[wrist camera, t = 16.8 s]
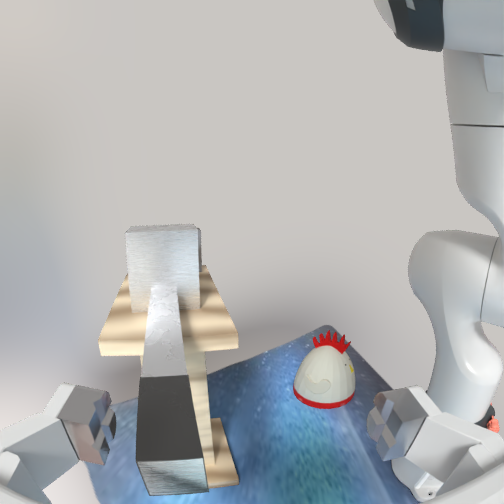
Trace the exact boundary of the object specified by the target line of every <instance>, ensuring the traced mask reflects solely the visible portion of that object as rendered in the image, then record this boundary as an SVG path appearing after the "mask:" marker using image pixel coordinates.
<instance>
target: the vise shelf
mask: <svg viewBox="0 0 504 504" xmlns="http://www.w3.org/2000/svg"><path fill="white" fill-rule="evenodd" d="M197 229H198V260H199V289H200V309H193V310H179V314H180V322H181V331H182V339H183V346H184V354H185V361H186V368H187V374H188V375H189V381H190V387H191V393H192V399H193V405H194V410H195V416H196V421H197V426H198V432H199V437H200V442H201V447H202V451H203V456H204V462H205V469H206V475H207V481H208V488H209V489H210V488H218V487H226V486H233V485H239V478H238V475H237V472H236V469H235V466H234V463H233V459H232V456H231V453H230V450H229V446H228V443H227V440H226V436H225V433H224V429H223V426H222V422H221V419H220V418H212V419H210V411H209V400H208V387H207V374H206V361H205V351H215V350H225V349H235V348H238V332H237V330H236V328H235V326H234V324H233V322H232V320H231V318H230V315H229V313H228V311H227V309H226V307H225V305H224V303H223V301H222V299H221V297H220V295H219V293H218V291H217V288H216V286H215V284H214V282H213V280H212V278H211V276H210V274H209V272H208V269H207V267H206V265H202V264H201V263H202V260H201V230H200V229H199V228H197ZM147 318H148V312H135V313H132V308H131V300H130V291H129V281H128V273H127V275H126V277H125V280H124V282H123V284H122V286H121V288H120V291H119V293H118V295H117V297H116V299H115V302H114V304H113V306H112V308H111V311H110V313H109V315H108V318H107V320H106V322H105V325H104V327H103V330H102V332H101V334H100V337H99V339H98V343H99V348H100V352H101V356H125V355H127V356H128V355H140V359H141V365H142V363H143V353H144V343H145V334H146V326H147Z"/></svg>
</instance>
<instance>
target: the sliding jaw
mask: <svg viewBox="0 0 504 504" xmlns="http://www.w3.org/2000/svg"><path fill="white" fill-rule="evenodd" d="M125 242H126V257H127V270H128V281H129V291H130V300H131V308H132V313H135V312H148V318H147V326H146V334H145V343H144V353H143V363H142V374H141V375H142V376H141V377H140V385H139V398H138V413H137V434H136V463H137V466H138V469H139V471H140V474H141V476H142V479H143V481H144V484H145V486H146V489H147V491H148V493H149V496H157V495H180V494H193V493H204V492H209V488H208V481H207V475H206V469H205V462H204V456H203V451H202V447H201V442H200V437H199V432H198V426H197V421H196V416H195V410H194V405H193V399H192V393H191V387H190V381H189V375H188V374H187V368H186V361H185V354H184V346H183V339H182V331H181V322H180V314H179V310H193V309H200V289H199V260H198V229H197V228H196V226H195V225H194V224H181V225H180V224H179V225H153V226H132V227H130V228H129V229H128V230H127V231H126V233H125Z"/></svg>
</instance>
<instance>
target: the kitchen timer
mask: <svg viewBox="0 0 504 504" xmlns="http://www.w3.org/2000/svg"><path fill="white" fill-rule="evenodd" d="M319 337H320V343H319V342H318V341H317V339H316V337H314V338H313V342H314V345H315V348H314V349H313V350H312V351H311V352H310V353H309V354H308V355H307V356H306V357H305V358H304V360H303V361H302V363H301V365H300V367H299V369H298V371H297V374H296V377H295V380H294V386H293V390H294V394H295V396H296V397H297V399H298V400H300V401H301V402H302V403H304V404H306V405H308V406H311V407H315V408H320V409H331V408H337V407H340V406H343V405H345V404H347V403H348V402H349V401H350V400H351V399H352V397H353V396H354V392H355V373H354V368H353V364H352V362H351V360H350V358H349V356H348V354H347V353H346V352H345V350H346V349H347V347H348V346H349V345H350V343H351V342H349V343H348V344H344V341H345V335H343V337H342V338H341V340H340V342H338V341H337V333H336V332H335V333H334V335H333V339H332V341H331V336H330V330H329V331H328V332H327V334H326V338H324V336H323V334H322V333H321V334H320V335H319Z"/></svg>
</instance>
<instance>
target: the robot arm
mask: <svg viewBox="0 0 504 504" xmlns="http://www.w3.org/2000/svg"><path fill="white" fill-rule="evenodd" d="M374 2H375V5H376V7H377V9H378V11H379V13H380V15H381V16H382V18H383V19H384V21H385V22H386V23H387V25H388V26H389V27H390V28H391V29H392V30H393V32H394V34H395V36H396V37H397V38H398V39H399V40H400V41H401V42H403V43H404V44H405V45H407V46H408V47H412V48H416V49H422V50H428V51H436V52H441V51H442V49H443V58H444V73H445V85H446V95H447V103H448V111H449V118H450V123H453V124H451V132H452V140H453V149H454V158H455V169H456V181H457V185H458V187H459V189H460V191H461V193H462V195H463V196H464V198H465V200H466V201H467V202H468V203H469V204H470V205H471V206H472V207H473V208H475V209H476V210H477V211H479V212H480V213H482V214H483V215H484V216H485V217H487V218H488V219H489V220H490V221H491V223H492V224H493V225H494V227H495V229H496V230H497V232H498V234H499V237H494V236H488V235H483V234H477V233H472V232H466V231H459V230H446V231H434V232H427V233H426V234H425V235H423V236H422V237H421V238H420V239H419V241H418V242H417V243H416V245H415V246H414V248H413V250H412V253H411V256H410V259H409V265H408V276H409V281H410V285H411V288H412V290H413V292H414V294H415V295H416V296H417V297H418V299H419V300H420V301H421V303H422V304H423V306H424V307H425V309H426V311H427V313H428V315H429V317H430V320H431V323H432V326H433V329H434V334H435V339H436V358H435V364H434V369H433V373H432V377H431V381H430V384H429V387H428V390H427V391H426V392H425V391H423V389H422V388H421V387H420V386H418V385H415V386H410V387H405V388H402V389H396V390H390V391H384V392H378V393H377V395H376V396H375V398H374V401H373V403H374V405H375V407H374V408H373V409H372V410H371V411H370V412H369V415H368V418H367V430H368V434H369V436H370V438H371V439H373V440H375V441H376V442H377V444H376V447H375V448H376V449H377V451H378V453H379V455H380V457H381V459H382V461H387V460H391V463H392V469H393V471H394V473H395V475H396V477H397V478H398V479H399V480H400V481H401V482H402V483H403V484H405V485H406V486H407V487H408V488H409V489H410V490H411V492H412V494H413V495H414V497H415V498H416V499H417V500H418V501H420V502H422V503H419V504H504V439H503V438H502V437H501V436H500V435H499V434H498V431H499V425H498V420H497V419H494V416H495V411H494V408H493V407H492V403H491V401H492V399H493V397H494V395H495V392H496V390H497V388H498V385H499V382H500V380H501V378H502V374H503V363H502V359H501V356H500V354H499V352H498V350H497V349H496V347H495V346H494V345H493V344H492V343H491V342H490V341H489V340H488V338H487V337H486V335H485V334H484V331H483V329H482V326H481V322H482V321H483V322H487V323H490V324H493V325H496V326H500V327H503V328H504V0H374ZM110 404H111V398H110V395H109V393H108V392H107V391H103V390H98V389H93V388H88V387H84V386H79V385H78V386H77V385H73V384H69V383H62V384H61V385H60V386H59V388H58V389H57V390H56V392H55V394H54V395H53V397H52V398H51V400H50V401H49V403H48V405H47V406H46V407H45V409H44V411H43V412H42V414H40V413H36V414H34V415H32V416H30V417H28V418H26V419H24V420H21V421H19V422H17V423H15V424H13V425H10V426H8V427H6V428H4V429H2V430H0V504H52V503H51V501H50V500H49V499H48V498H47V496H46V495H45V494H44V492H43V491H42V490H43V489H44V488H46V487H47V486H48V485H49V484H51V483H52V482H53V481H55V480H56V479H57V478H59V477H60V476H61V475H63V474H64V473H65V472H66V471H68V470H69V469H70V468H72V467H73V466H74V465H75V464H77V463H78V462H79V460H81V461H86V462H90V463H95V464H100V465H105V462H106V459H107V457H108V454H109V451H110V449H109V446H108V443H109V442H110V441H112V440H113V439H114V436H115V432H116V417H115V413H114V411H113V410H112V409H111V408H110V407H109V406H110ZM428 494H431V495H428Z"/></svg>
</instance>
